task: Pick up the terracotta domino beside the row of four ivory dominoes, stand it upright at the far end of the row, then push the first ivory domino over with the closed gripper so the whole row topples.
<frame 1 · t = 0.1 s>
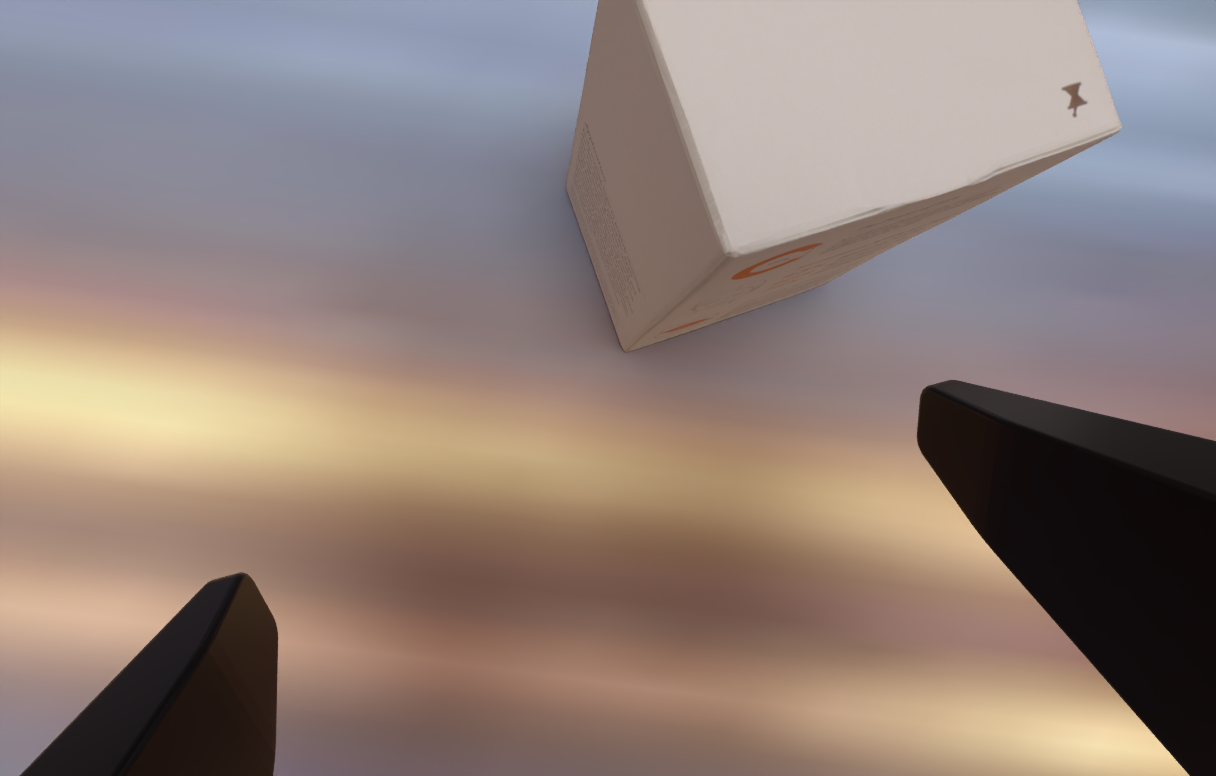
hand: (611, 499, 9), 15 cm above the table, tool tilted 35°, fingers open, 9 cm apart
small box: (694, 237, 25), on the table
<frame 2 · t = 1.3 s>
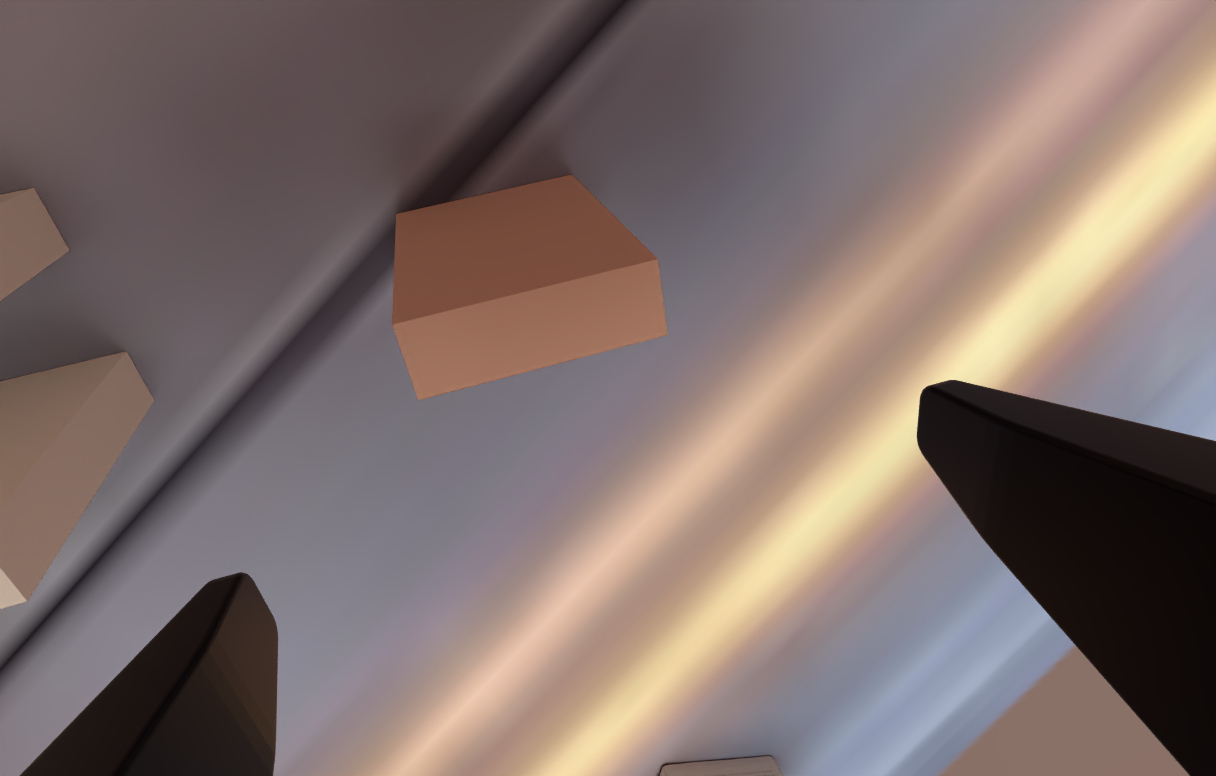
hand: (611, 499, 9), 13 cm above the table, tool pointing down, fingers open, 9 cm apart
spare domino: (492, 221, 20), on the table
domino 1: (45, 399, 20), on the table
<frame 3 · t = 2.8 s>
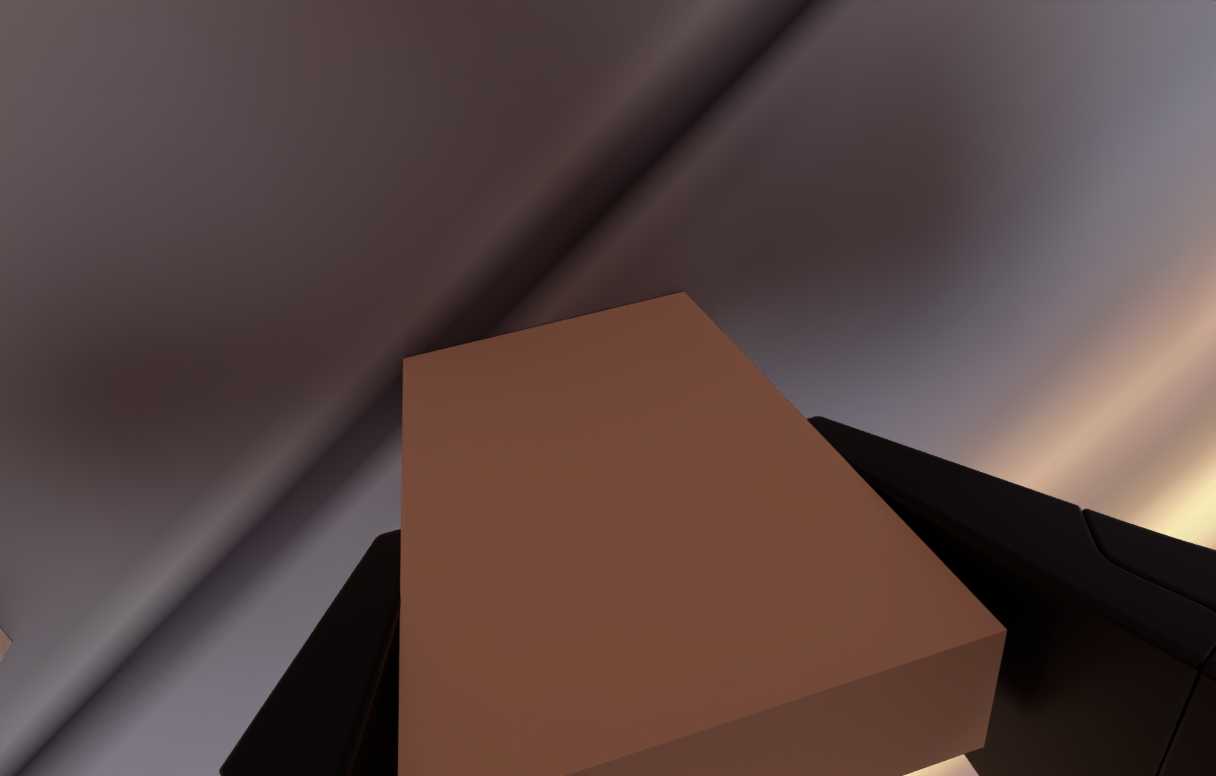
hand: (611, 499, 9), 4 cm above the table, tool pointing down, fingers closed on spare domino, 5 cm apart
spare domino: (556, 364, 13), on the table, touching gripper
when the fingers open (5 cm above the table, at t = 8.3 s): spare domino stays where it is, on the table.
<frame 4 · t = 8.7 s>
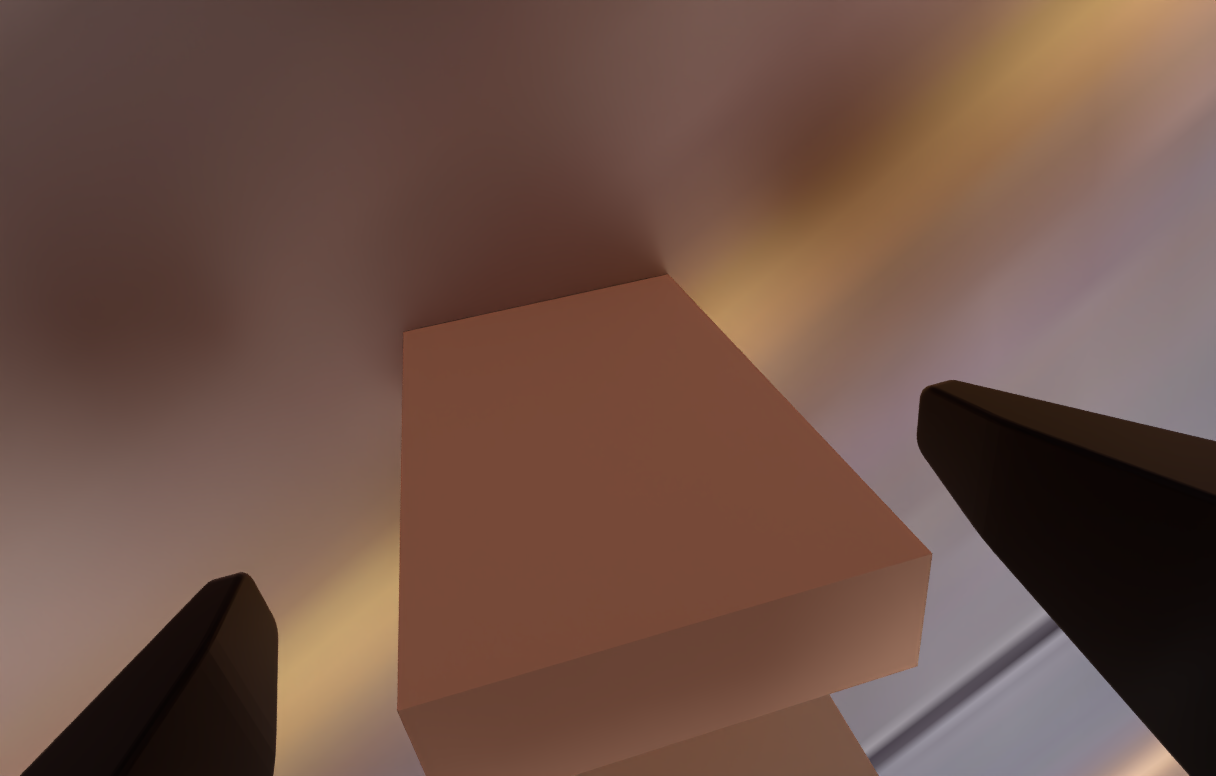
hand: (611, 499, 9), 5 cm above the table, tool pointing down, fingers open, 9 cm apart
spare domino: (546, 340, 14), on the table
domino 4: (584, 520, 16), on the table
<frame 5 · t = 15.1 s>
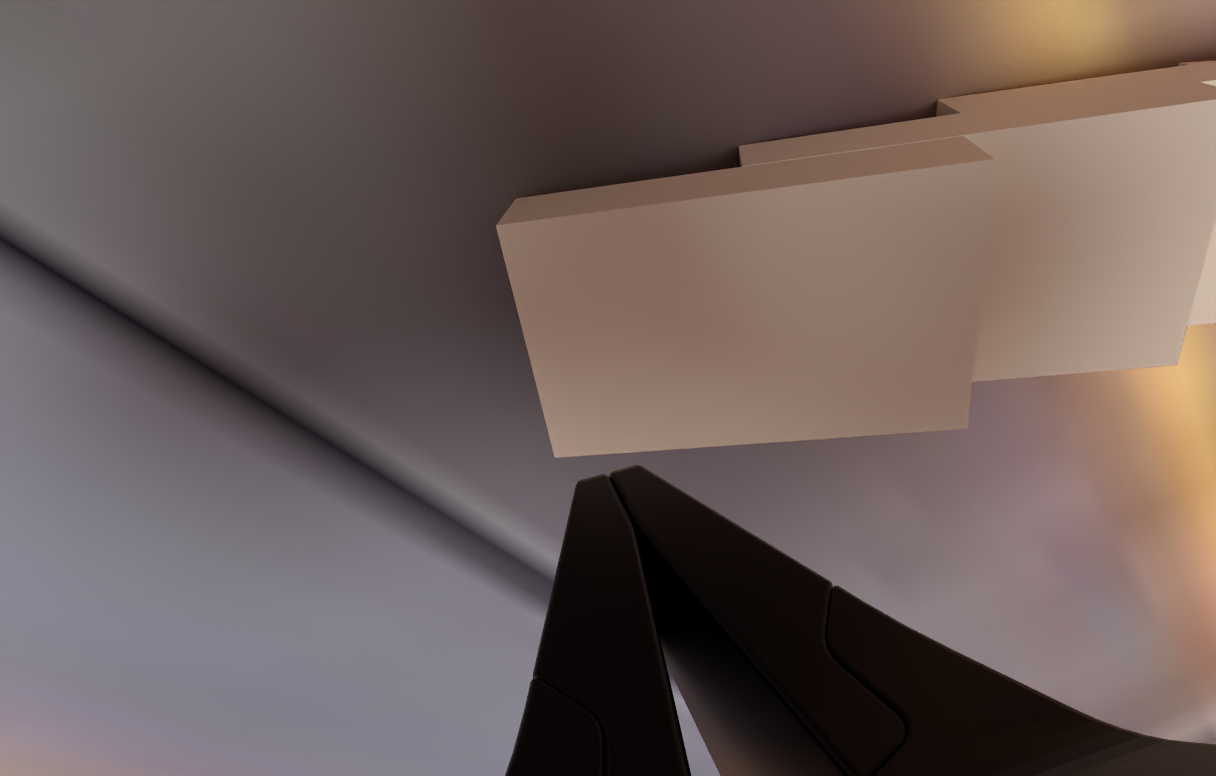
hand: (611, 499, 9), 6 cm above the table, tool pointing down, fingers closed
domino 1: (536, 333, 14), point 1 cm above the table, tilted 70°, touching domino 2
domino 3: (938, 227, 15), point 1 cm above the table, tilted 71°, touching domino 2
domino 2: (749, 277, 15), point 1 cm above the table, tilted 70°, touching domino 1, domino 3
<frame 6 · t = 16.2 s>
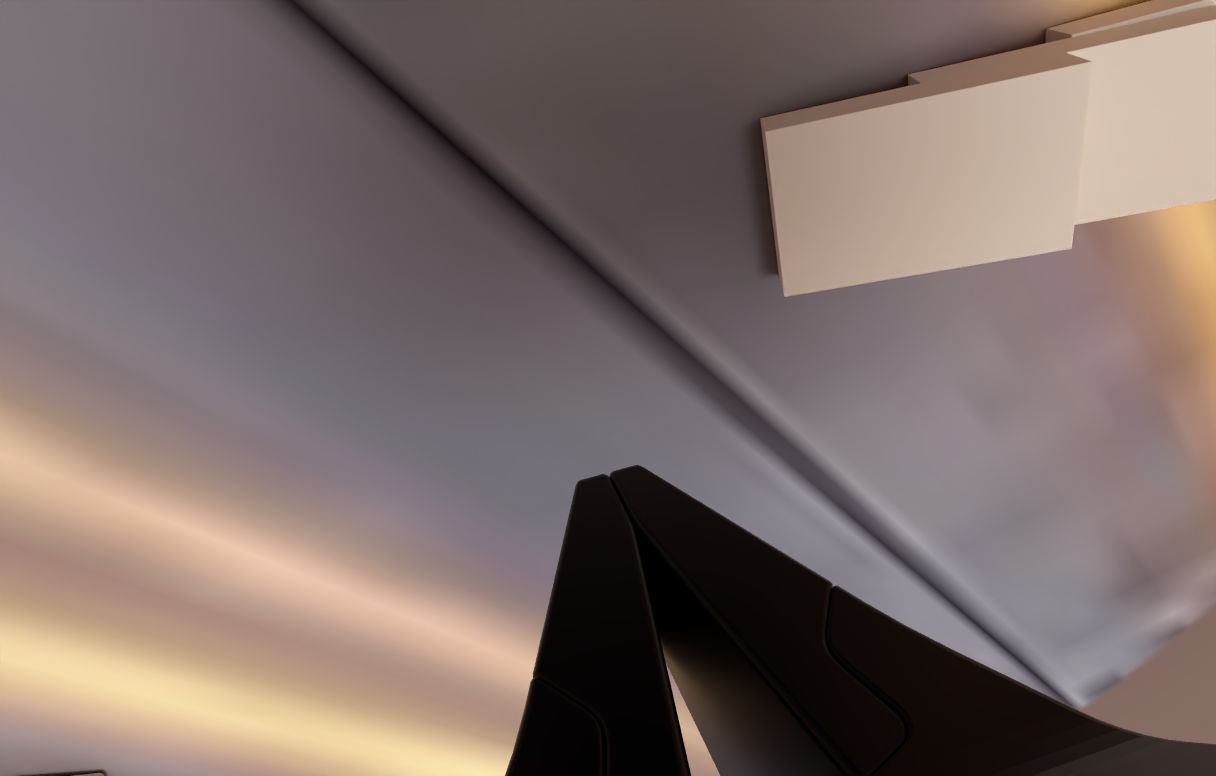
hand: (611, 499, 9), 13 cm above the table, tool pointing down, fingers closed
domino 1: (772, 210, 21), point 1 cm above the table, tilted 70°, touching domino 2
domino 3: (1054, 118, 22), point 1 cm above the table, tilted 72°, touching domino 2, domino 4
domino 2: (916, 165, 22), point 1 cm above the table, tilted 70°, touching domino 1, domino 3
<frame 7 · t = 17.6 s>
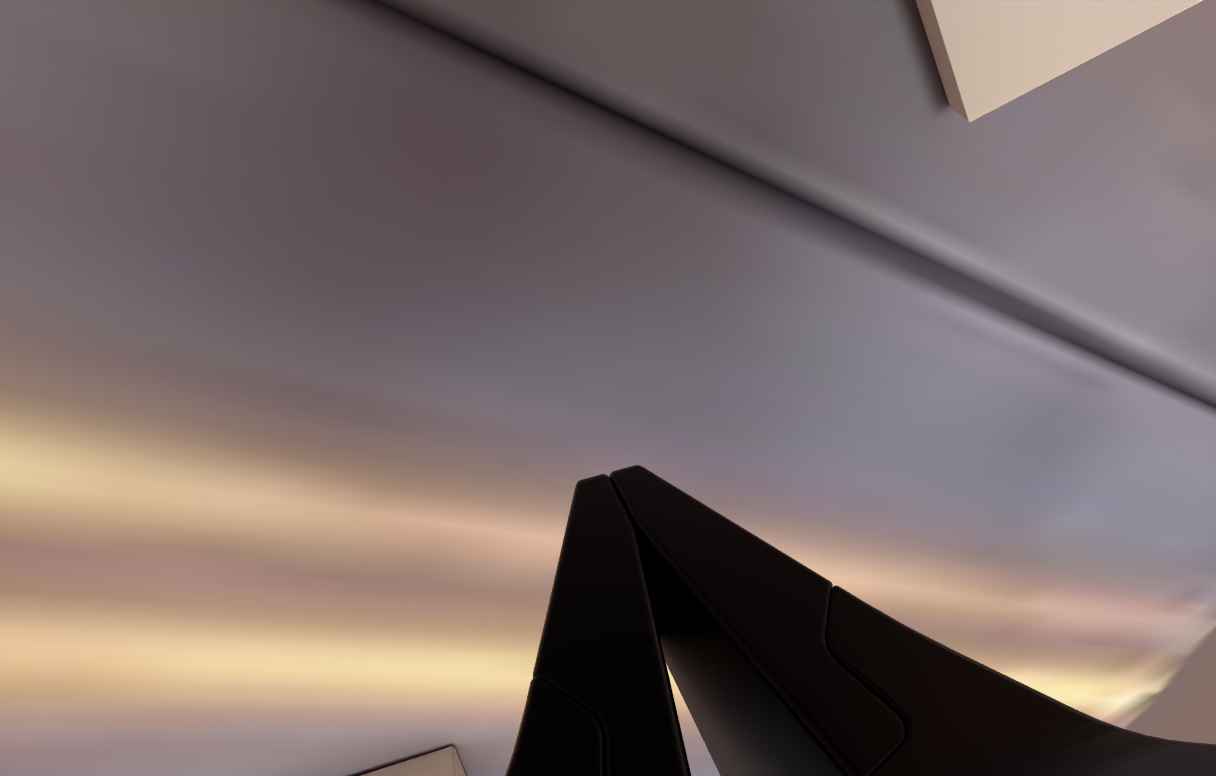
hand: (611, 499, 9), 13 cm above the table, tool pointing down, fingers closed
domino 1: (934, 36, 20), point 1 cm above the table, tilted 72°
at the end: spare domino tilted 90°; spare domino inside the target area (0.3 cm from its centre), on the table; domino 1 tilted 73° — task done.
